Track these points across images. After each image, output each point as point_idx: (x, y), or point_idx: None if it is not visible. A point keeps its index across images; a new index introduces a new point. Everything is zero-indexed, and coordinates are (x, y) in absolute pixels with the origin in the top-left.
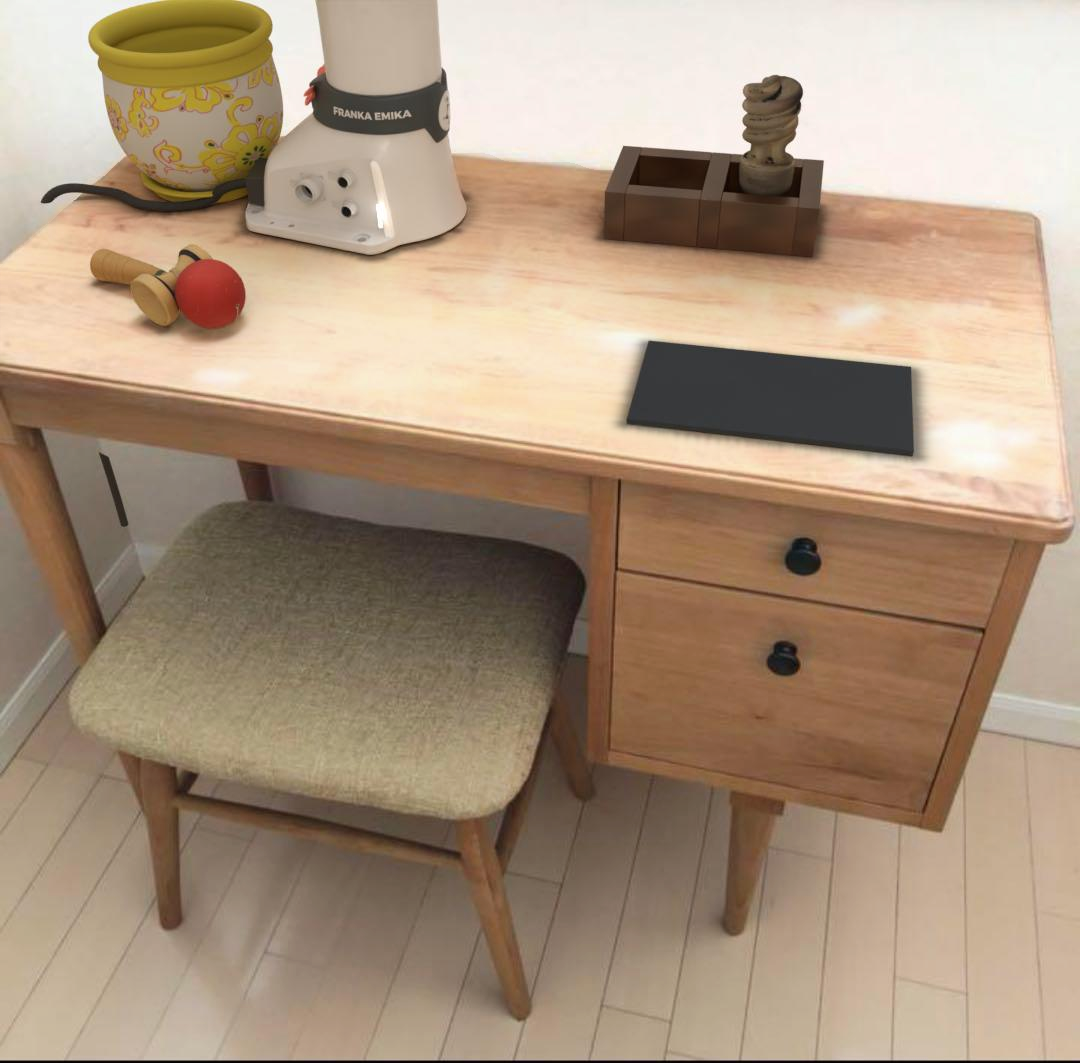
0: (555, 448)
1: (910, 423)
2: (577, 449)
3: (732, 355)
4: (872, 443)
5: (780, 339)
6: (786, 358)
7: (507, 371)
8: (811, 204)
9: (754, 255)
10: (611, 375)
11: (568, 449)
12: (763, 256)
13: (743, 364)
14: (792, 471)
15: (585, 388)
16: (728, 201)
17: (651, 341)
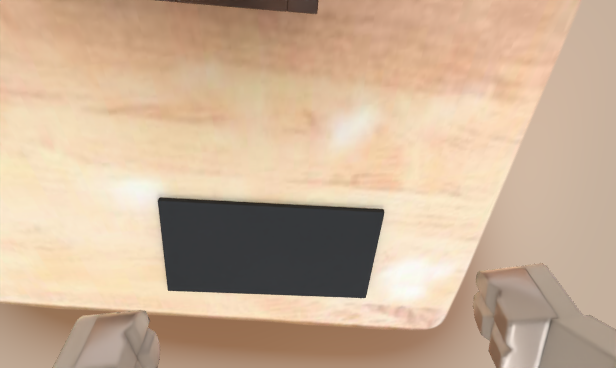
0: None
1: (368, 274)
2: None
3: (234, 213)
4: (339, 294)
5: (276, 175)
6: (281, 213)
7: (54, 242)
8: (306, 1)
9: None
10: (140, 238)
11: None
12: None
13: (245, 224)
14: (285, 314)
15: (125, 255)
16: (187, 2)
17: (160, 201)
